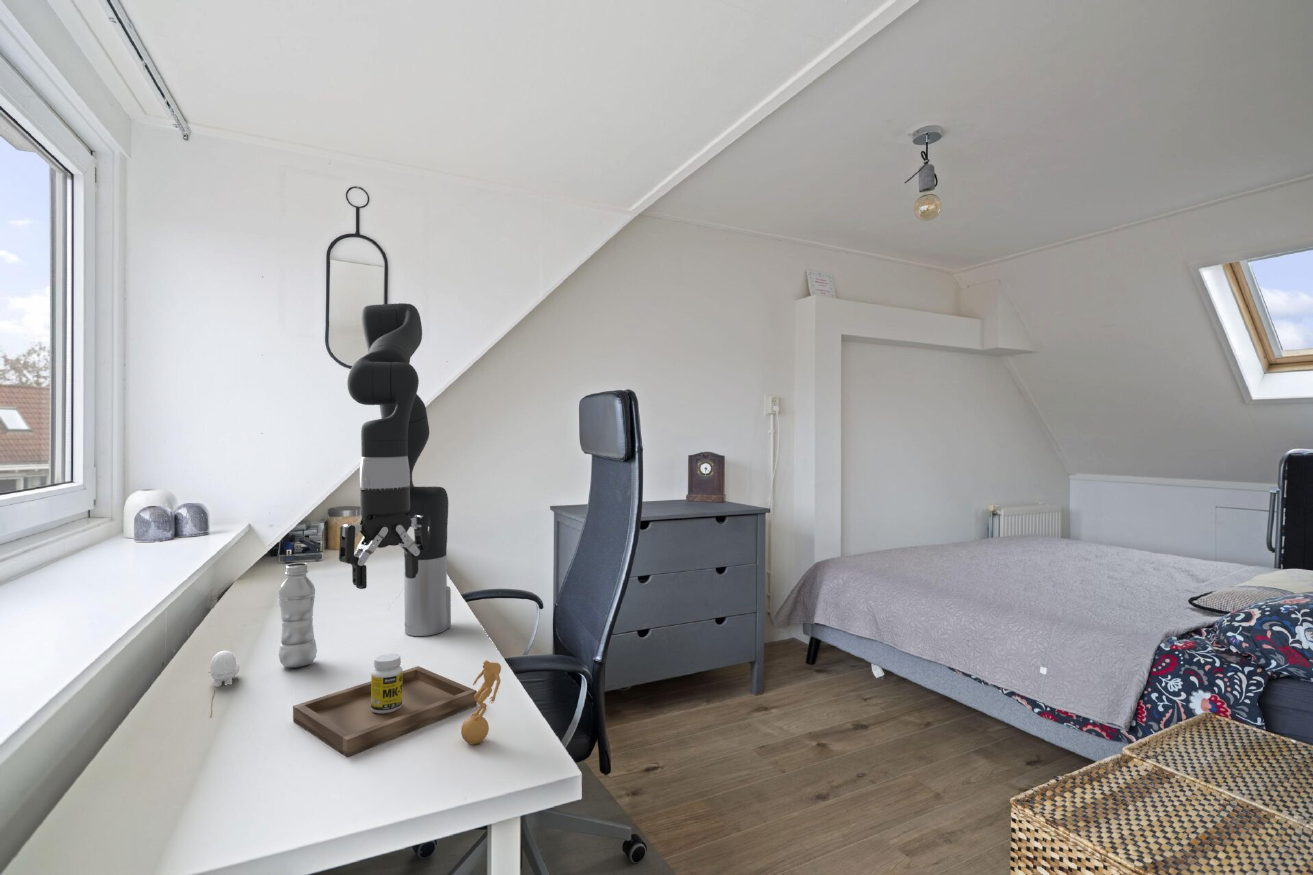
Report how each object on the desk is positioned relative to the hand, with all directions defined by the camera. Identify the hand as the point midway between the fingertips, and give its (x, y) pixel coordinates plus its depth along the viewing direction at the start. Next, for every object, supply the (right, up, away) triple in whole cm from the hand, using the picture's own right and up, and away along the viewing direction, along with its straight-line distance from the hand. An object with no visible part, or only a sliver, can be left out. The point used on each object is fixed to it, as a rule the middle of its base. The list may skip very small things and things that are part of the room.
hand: (386, 582), depth 107 cm
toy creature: (-36, -22, +14) cm, 44 cm away
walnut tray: (0, -22, 0) cm, 22 cm away
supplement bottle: (0, -21, 0) cm, 21 cm away
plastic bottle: (-27, -21, +22) cm, 40 cm away
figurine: (+18, -22, -9) cm, 30 cm away
